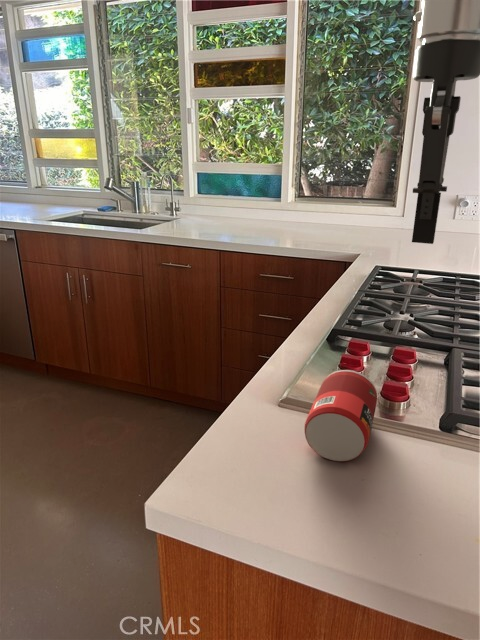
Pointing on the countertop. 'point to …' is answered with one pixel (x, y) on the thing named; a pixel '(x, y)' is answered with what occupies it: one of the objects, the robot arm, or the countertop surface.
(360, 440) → the canned food
